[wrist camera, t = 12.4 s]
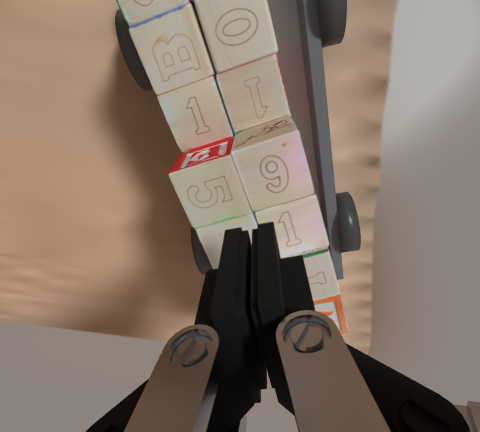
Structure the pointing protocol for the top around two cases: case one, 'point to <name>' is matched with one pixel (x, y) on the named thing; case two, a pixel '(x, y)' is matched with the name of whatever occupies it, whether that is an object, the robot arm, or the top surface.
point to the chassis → (295, 107)
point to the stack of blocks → (233, 130)
